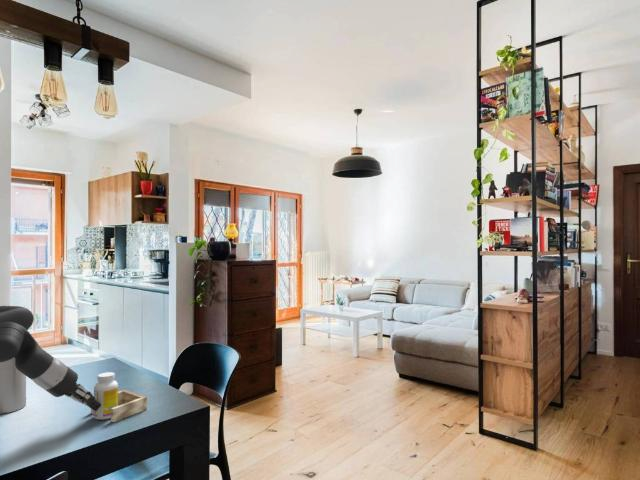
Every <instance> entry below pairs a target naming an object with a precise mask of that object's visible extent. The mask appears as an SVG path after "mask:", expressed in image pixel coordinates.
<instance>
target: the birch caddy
mask: <svg viewBox="0 0 640 480" xmlns="http://www.w3.org/2000/svg"><path fill="white" fill-rule="evenodd" d="M147 409H148V397H147V396H146V395H141V394H138V393H136V392H133V391H130V390H127V389H123V390H118V406H116V407H113V408H111V418H110V422H111V423H113V422H114V423H116V422H118V421H121V420H123V418H124V419H126V418H129V417H131V416H134V415H136V414H139V413H143V412H144V411H147ZM91 413H92V415H94V410H92V409H91V408H90V414H91Z"/></svg>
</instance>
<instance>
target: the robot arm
mask: <svg viewBox="0 0 640 480" xmlns="http://www.w3.org/2000/svg"><path fill="white" fill-rule="evenodd" d="M34 320H35V318H34V314H33V313H32V311H31V310H30V309H29V308H27V307H25V306H24V307H23V306H18V305H0V415H2V414H8V413H13V412H15V411H19V410H21V409H23V408H25V407H26V406H27V378H29V379H30V380H31V381H33V382H34V383H35V385H36V386H38V387H40V388H41V389H43V390H44V391H46V392H47V393H48V394H50V395H51V396H53V397H55V398H60V397H63V396H65V397H67V398H70V399H72V400H73V401H75V402H78V403H79V404H81V405H84V406H87V407H88V408H89V409H90V410H91V409H92V410H95V411H97V410H98V409H99V407H100V406H101V404H100V403H99V402H97V401H96V400H95V397H94V394H93V393H91V391H88V390H87V389H86V388H85V386H84V385H83V384H81V383H77V382H78V379H79V374H78V373H77V372H76V371H75V370H73V369H72V368H70V367H69V366H68V365H66V364H65V363H64V362H62V361H61V360H60V359H58V358H55V357H54V356H52V354H50V353H48V352H47V351H46V350H45V349H43V348H42V347H41V346H40V344H39V343H38V342H37V340H36V339H35V338H34V337H33V335H32V334H31V333H30V331H28V330H29V329H30V328H31V327H32V325H33V324H34Z"/></svg>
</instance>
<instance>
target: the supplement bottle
mask: <svg viewBox="0 0 640 480" xmlns="http://www.w3.org/2000/svg"><path fill="white" fill-rule="evenodd" d="M115 378H116V376H115V372H112V371H111V372H110V371H107V372H102V373H99V374H98V375H97V383H95V385H94V386H93V396H94V397H95V400H96V401H97V402H99V403H100V404H101V406H100V407H99V409H98V410H97V411H95V410H94V414H93V418H94V419H96V420H99V421H100V420H103V421H104V420H109V419H111V408H113V407H116V406H119V405H118V392H119V383H118V381H117V380H115Z"/></svg>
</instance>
